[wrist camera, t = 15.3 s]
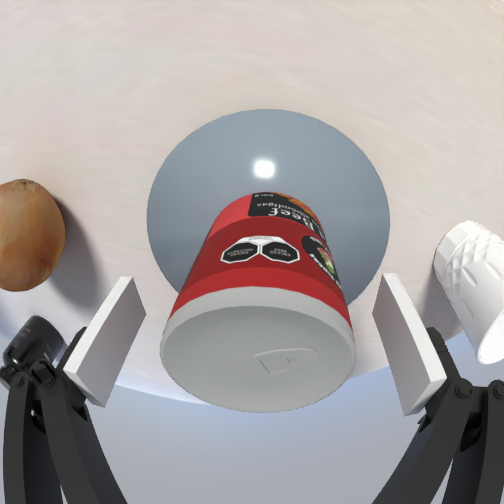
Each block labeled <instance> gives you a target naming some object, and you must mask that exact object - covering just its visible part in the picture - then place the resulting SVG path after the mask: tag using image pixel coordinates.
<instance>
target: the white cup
mask: <svg viewBox="0 0 504 504" xmlns="http://www.w3.org/2000/svg"><path fill="white" fill-rule="evenodd" d="M433 265H434V270H435V275H436V277H437V279H438V281H439V282H440V284H441V285H442V287H443V289H444V290H445V292H446V295H447V297H448V300H449V302H450V303H451V305H452V307H453V309H454V311H455V313H456V315H457V317H458V319H459V321H460V323H461V325H462V327H463V329H464V331H465V333H466V335H467V337H468V339H469V341H470V343H471V345H472V348H473V350H474V352H475V354H476V357H477V359H478V361H479V362H480V363H482V364H492V363H495V362H498V361H500V360H502V359H504V241H503V240H502V239H501V238H499V237H498V236H496V235H495V234H493V233H491V232H490V231H489V230H487V229H486V228H485V227H484V226H482V225H481V224H479V223H476V222H473V221H466V222H463V223H460V224H457V225H456V226H455V227H453V228H452V229H451V230H450V231H449V232H448V233H446V234H445V236H444V237H443V239H442V241H441V242H440V244H439V246H438V247H437V249H436V254H435V258H434V262H433Z"/></svg>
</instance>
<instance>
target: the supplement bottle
mask: <svg viewBox="0 0 504 504" xmlns="http://www.w3.org/2000/svg"><path fill="white" fill-rule="evenodd" d="M61 348H62V339H61V337H60V335H59V333H58V332H57V330H56V329H55V328H54V327H53V326H52V325H51V324H50V323H49V322H48V321H46V320H45V319H44V318H42V317H40V316H32V317H30V318H29V320H28V321H27V322H26V323H25V324H24V326H23V327H22V328H21V329H20V331H19V332H18V333H17V335H16V336H15V337H14V339H13V340H12V341H11V343H10V344H9V345H8V347H7V348H6V349H5V351H4V353H3V361H4V364H5V365H4V366H2V367H1V368H0V382H1V383H2V384H3V385H4V386H5V388H7V389H8V390H10V384H11V381H12V378H13V377H14V375H16V374H17V373H19V372H25V373H27V374H28V375H29V377H30V378H32V377H31V376H30V374H29V371H30V368H31V366H32V364H33V363H34V362H35V361H37V360H39V359H42V358H44V359H48V360H49V361H50V362H51V364H52V362H53V361H54V359H55V358H56V356H57V354H58V353H59V351H60V350H61Z"/></svg>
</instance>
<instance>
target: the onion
mask: <svg viewBox="0 0 504 504" xmlns="http://www.w3.org/2000/svg"><path fill="white" fill-rule="evenodd" d="M64 246H65V226H64V221H63V218H62V214H61V212H60V210H59V208H58V206H57V204H56V203H55V201H54V199H53V198H52V196H51V195H50V193H49V192H48V191H47V190H46V189H45V188H44V187H42V186H41V185H40V184H38V183H36V182H34V181H30V180H27V179H19V180H14V181H11V182H7V183H4V184H2V185H0V288H1V289H4V290H7V291H12V292H18V291H27V290H30V289H33V288H34V287H36V286H38V285H40V284H41V283H43V282H44V281H45V280H46V279H47V278H48V277H49V276H50V275H51V273H52V272H53V270H54V268H55V267H56V265H57V263H58V261H59V259H60V257H61V255H62V252H63V249H64Z"/></svg>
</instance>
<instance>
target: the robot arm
mask: <svg viewBox="0 0 504 504" xmlns="http://www.w3.org/2000/svg"><path fill="white" fill-rule="evenodd" d="M372 314H373V317H374V320H375V323H376V326H377V328H378V331H379V334H380V337H381V340H382V343H383V346H384V349H385V352H386V355H387V358H388V361H389V364H390V368H391V371H392V374H393V377H394V381H395V384H396V387H397V391H398V395H399V398H400V402H401V406H402V410H403V413H404V416H408V415H413V414H417V413H419V412H420V411H421V410H422V409H423V408H424V407H425V409H426V412H427V413H426V414H425V415H424V416H423V417H422V418H421V419H420V420H419V422H418V424H420V423H421V424H420V426H419V428H418V430H417V432H416V434H415V436H414V438H413V439H412V442H411V443H410V445H409V447H408V449H407V451H406V452H405V454H404V456H403V457H402V459H401V461H400V463H399V464H398V466H397V468H396V469H395V471H394V472H393V474H392V475H391V477H390V479H389V480H388V482H387V483H386V485H385V486H384V487H383V489H382V490H381V492H380V493H379V495H378V496H377V497H376V499H375V500H374V501H373V503H372V504H430V503H431V501H432V500H433V498H434V496H435V494H436V492H437V491H438V489H439V487H440V485H441V483H442V481H443V479H444V477H445V475H446V473H447V471H448V468H449V466H450V464H451V462H452V459H453V463H452V467H451V472H450V475H449V479H448V483H447V487H446V491H445V494H444V498H443V501H442V504H500V501H501V496H502V492H503V486H504V382H503V381H501V380H494V381H492V382H491V383H490V384H489V385H488V387H476V386H473V385H472V384H471V383H470V382H469V381H468V380H466V379H463V378H461V377H460V375H459V373H458V370H457V368H456V366H455V364H454V362H453V359H452V357H451V355H450V353H449V352H448V349H447V346H446V345H445V342H444V340H443V338H442V336H441V334H440V333H439V332H438V331H437V330H436V329H435V328H434V327H430V328H425V327H424V325H423V323H422V321H421V319H420V317H419V315H418V313H417V311H416V309H415V307H414V306H413V304H412V302H411V300H410V298H409V296H408V294H407V293H406V291H405V289H404V287H403V285H402V284H401V282H400V280H399V278H398V277H397V275H396V273H388V274H382V278H381V282H380V286H379V290H378V294H377V298H376V302H375V305H374V309H373V312H372ZM145 316H146V312H145V310H144V307H143V305H142V302H141V299H140V296H139V294H138V291H137V288H136V285H135V282H134V280H133V277H120V279H119V280H118V282H117V283H116V285H115V286H114V288H113V289H112V290H111V292H110V293H109V295H108V296H107V298H106V299H105V301H104V302H103V304H102V305H101V307H100V308H99V310H98V312H97V313H96V315H95V316H94V318H93V319H92V321H91V322H90V324H89V326H88V327H83V328H82V329H81V330H80V331H79V332H77V334H76V335H75V337H74V338H73V340H72V342H71V343H70V345H69V348H67V350H66V352H65V353H64V355H63V357H62V358H61V360H60V362H59V364H58V365H57V367H56V369H55V368H54V366H53V365H52V364H51V362H50V361H49V360H48V359H44V358H42V359H39V360H37V361H35V362H34V363H33V364H32V366H31V368H30V371H29V374H30V376H31V377H32V378H30V377H29V375H28V374H27V373H25V372H19V373H17V374H16V375H14V377H13V378H12V381H11V384H10V390H9V396H8V402H7V410H6V418H5V429H4V444H3V478H4V479H3V480H4V494H5V504H63V500H62V494H61V487H62V490H63V492H64V495H65V498H66V500H67V503H68V504H127V502H126V500H125V498H124V496H123V494H122V492H121V490H120V488H119V486H118V484H117V482H116V481H115V478H114V476H113V474H112V472H111V470H110V467H109V465H108V463H107V460H106V458H105V456H104V453H103V451H102V448H101V446H100V443H99V440H98V438H97V435H96V433H95V429H94V427H93V424H92V421H91V418H90V415H89V412H88V408H87V406H86V404H85V403H84V402H85V400H86V398H87V399H88V400H89V401H90V402H91V403H92V404H94V405H97V406H101V407H104V408H105V406H106V403H107V401H108V398H109V396H110V393H111V391H112V388H113V386H114V384H115V381H116V379H117V377H118V374H119V372H120V370H121V367H122V365H123V363H124V361H125V358H126V356H127V354H128V352H129V350H130V347H131V345H132V343H133V341H134V339H135V337H136V335H137V332H138V330H139V328H140V326H141V324H142V322H143V320H144V318H145ZM32 410H33V411H34V414H33V416H32V415H31V411H32ZM60 484H61V487H60Z"/></svg>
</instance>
